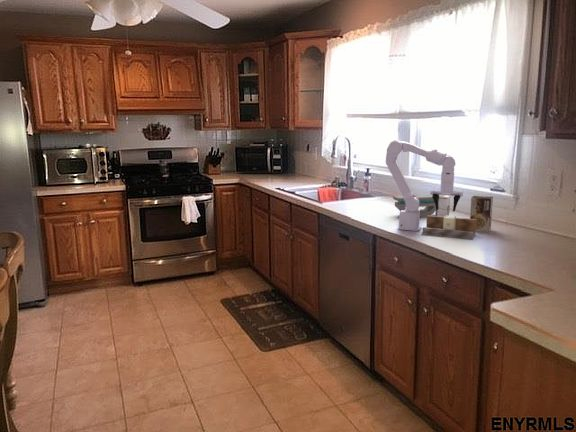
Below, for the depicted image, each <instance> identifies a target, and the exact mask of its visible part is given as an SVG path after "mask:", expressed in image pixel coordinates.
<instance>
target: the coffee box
mask: <svg viewBox="0 0 576 432" xmlns="http://www.w3.org/2000/svg"><path fill="white" fill-rule="evenodd" d="M493 200H494V196H487V195H485V196H484V195H473V196H471V198H470V213H469V214H470V216H469V219H476V232H484V233H490V232H491V230H492V218H493V216H492V215H493V205H494V203H493V202H494V201H493Z"/></svg>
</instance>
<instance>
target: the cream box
mask: <svg viewBox="0 0 576 432" xmlns="http://www.w3.org/2000/svg"><path fill="white" fill-rule="evenodd" d="M456 218H457V215H449V216H445V217H444V220H443V229H447V230H455V226H456Z"/></svg>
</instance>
